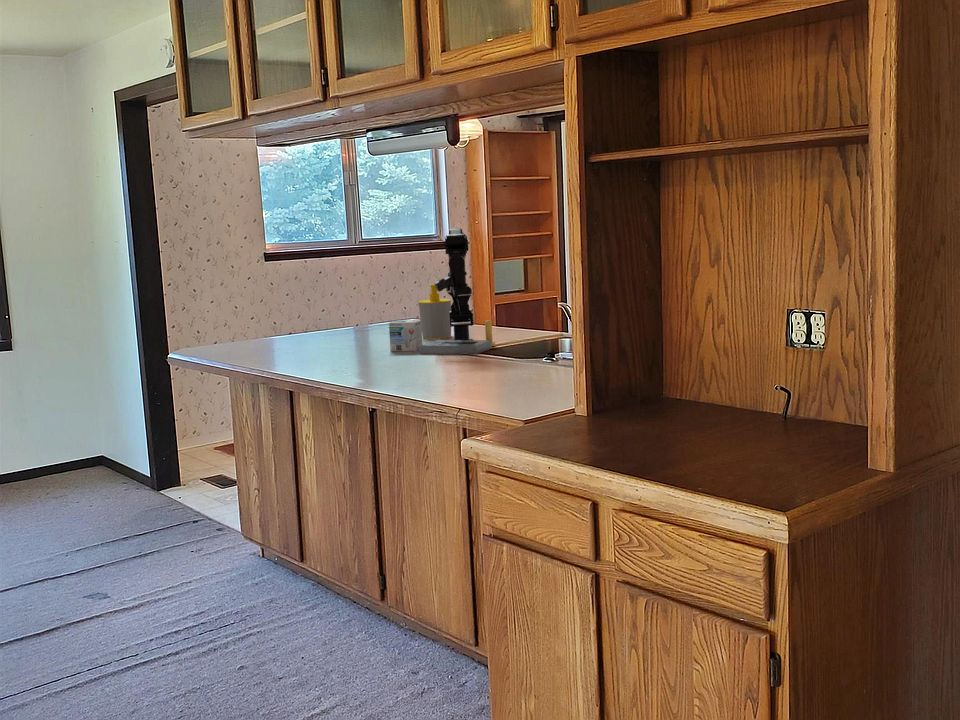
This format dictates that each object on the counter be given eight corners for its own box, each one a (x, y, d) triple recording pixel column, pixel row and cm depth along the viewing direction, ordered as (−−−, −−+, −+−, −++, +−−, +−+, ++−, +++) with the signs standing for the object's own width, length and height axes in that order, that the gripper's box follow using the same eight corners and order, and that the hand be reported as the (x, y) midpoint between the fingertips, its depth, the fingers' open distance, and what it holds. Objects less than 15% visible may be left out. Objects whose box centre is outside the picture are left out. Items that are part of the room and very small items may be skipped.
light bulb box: (389, 351, 349) (388, 322, 347) (396, 348, 355) (394, 320, 353) (417, 351, 345) (415, 321, 344) (423, 348, 352) (421, 319, 350)
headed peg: (486, 345, 350) (485, 320, 349) (496, 345, 349) (495, 320, 347) (482, 347, 347) (480, 321, 345) (492, 347, 345) (491, 321, 344)
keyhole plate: (437, 347, 351) (436, 339, 350) (491, 348, 342) (491, 340, 342) (420, 353, 338) (419, 345, 338) (476, 354, 329) (476, 345, 329)
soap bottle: (459, 335, 383) (456, 283, 380) (438, 339, 373) (435, 286, 370) (435, 334, 392) (432, 282, 388) (414, 338, 382) (410, 285, 378)
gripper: (431, 269, 346) (433, 311, 349) (439, 272, 328) (442, 317, 331) (461, 267, 348) (463, 309, 351) (470, 270, 330) (473, 314, 333)
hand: (459, 312), depth 341 cm, fingers open, 9 cm apart
